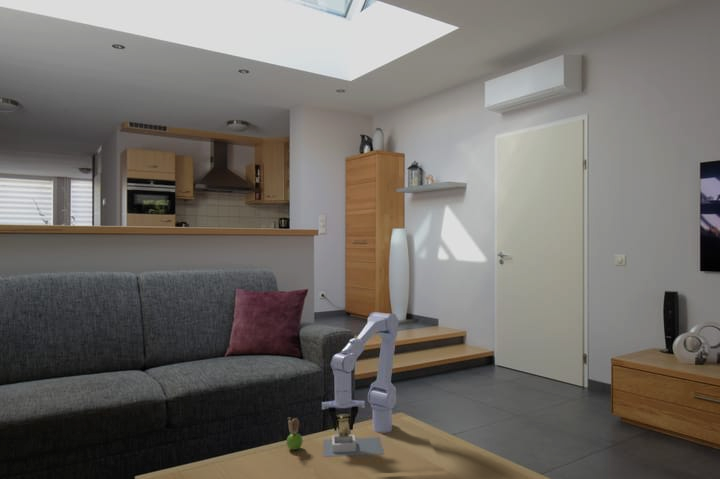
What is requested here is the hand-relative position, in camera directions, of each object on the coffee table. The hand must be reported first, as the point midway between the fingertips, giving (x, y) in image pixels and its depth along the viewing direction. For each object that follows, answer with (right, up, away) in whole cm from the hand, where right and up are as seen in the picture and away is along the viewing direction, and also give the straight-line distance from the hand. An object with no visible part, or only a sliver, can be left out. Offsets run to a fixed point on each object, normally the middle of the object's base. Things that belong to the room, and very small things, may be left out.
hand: (343, 429), depth 169 cm
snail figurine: (-17, -8, +1) cm, 19 cm away
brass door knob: (0, -2, 0) cm, 2 cm away
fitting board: (+3, -7, 0) cm, 8 cm away
